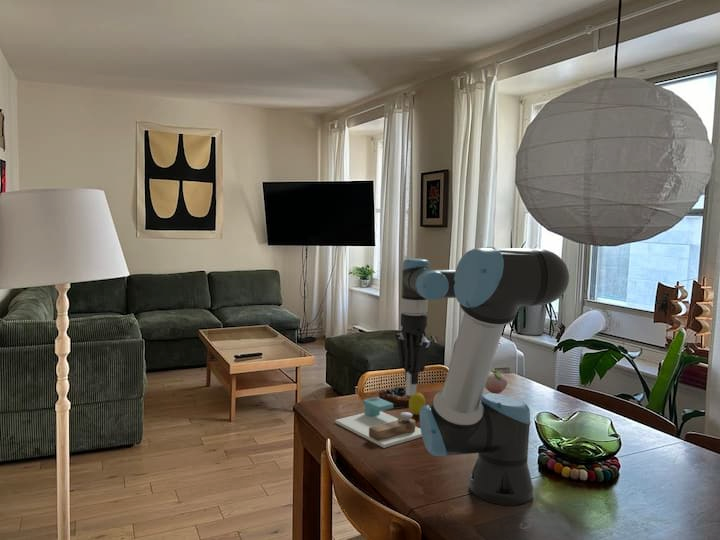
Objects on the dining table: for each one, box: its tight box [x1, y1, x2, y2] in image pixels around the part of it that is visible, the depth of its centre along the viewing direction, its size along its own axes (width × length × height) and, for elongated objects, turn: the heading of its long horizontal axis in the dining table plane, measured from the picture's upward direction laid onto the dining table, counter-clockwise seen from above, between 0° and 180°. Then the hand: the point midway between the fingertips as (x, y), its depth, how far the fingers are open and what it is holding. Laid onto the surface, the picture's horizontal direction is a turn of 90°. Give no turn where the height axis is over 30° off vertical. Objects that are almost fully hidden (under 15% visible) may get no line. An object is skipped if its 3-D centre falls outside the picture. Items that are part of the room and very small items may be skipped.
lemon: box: [408, 391, 426, 416], centre depth 193 cm, size 6×6×8 cm
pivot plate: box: [335, 411, 422, 449], centre depth 180 cm, size 24×18×6 cm
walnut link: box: [369, 417, 416, 440], centre depth 174 cm, size 16×6×2 cm, turn 128°
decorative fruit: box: [484, 368, 508, 394], centre depth 218 cm, size 9×8×10 cm
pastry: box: [378, 386, 411, 409], centre depth 206 cm, size 11×12×6 cm
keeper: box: [363, 396, 394, 417], centre depth 188 cm, size 8×6×6 cm
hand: (410, 394), depth 166 cm, fingers closed
